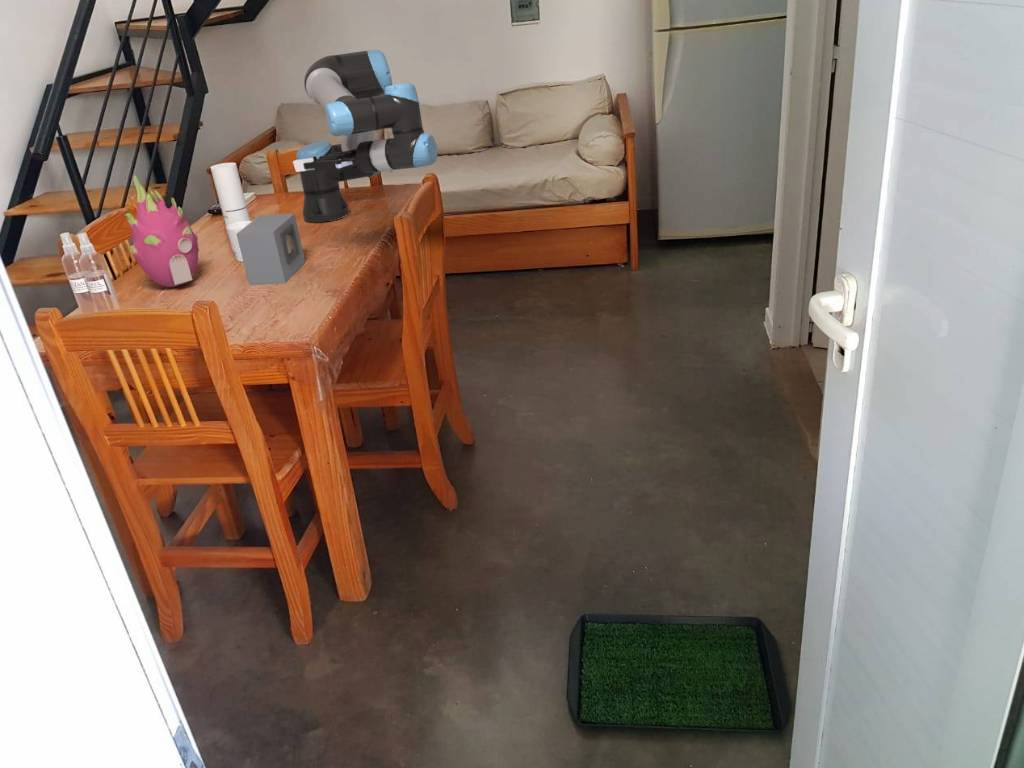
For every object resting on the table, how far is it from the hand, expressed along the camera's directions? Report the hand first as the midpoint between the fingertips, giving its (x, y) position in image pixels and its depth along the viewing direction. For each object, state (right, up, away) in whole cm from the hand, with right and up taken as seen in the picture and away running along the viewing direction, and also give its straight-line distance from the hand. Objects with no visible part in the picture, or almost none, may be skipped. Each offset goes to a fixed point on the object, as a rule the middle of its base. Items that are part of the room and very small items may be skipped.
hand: (296, 165), depth 202 cm
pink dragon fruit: (-35, -30, +10) cm, 47 cm away
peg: (-9, -21, +9) cm, 25 cm away
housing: (-8, -26, +12) cm, 30 cm away
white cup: (-21, -20, +26) cm, 39 cm away
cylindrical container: (-25, -16, +34) cm, 45 cm away
